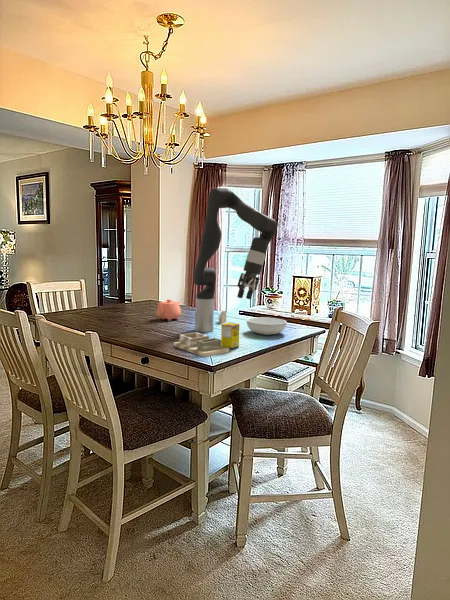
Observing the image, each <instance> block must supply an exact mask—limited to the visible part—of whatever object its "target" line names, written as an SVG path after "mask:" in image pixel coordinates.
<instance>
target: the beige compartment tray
mask: <svg viewBox="0 0 450 600" xmlns="http://www.w3.org/2000/svg"><path fill="white" fill-rule="evenodd" d="M178 337H179V340H178V341H173V346H174V347H176V348H178V349H180V350H181V349H182V350H184V351H187V352H190V353H192V354H194V355H197V356H199V357H203V358H205V357H210V356H214V355H219V354H224V353H229V352H230V349H229V348H227V347H224V346H221V339H219V338H216V337H212V338H210V336H209V335H207V334H203V333H202V332H198V331H197V332H196V331H195V332H189V333H183V334H179V336H178Z"/></svg>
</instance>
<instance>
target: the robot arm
mask: <svg viewBox="0 0 450 600" xmlns="http://www.w3.org/2000/svg"><path fill="white" fill-rule="evenodd" d="M226 208H227V209H228V208H229V209H231V210H234V211H235V212H236V215H237V216H238V218H239V219H240V220H241V221H243V222H245V223H247V224H248V225H250V226H251V227H252V228H253V229H254V230H256V231H258V232H260V234H259V236H256V237H255V236H254V238H252V241H251V244H250V247H249V251H248V253H247V256H246V259H245V262H244V266H243V271H244V272H245V273H244V272H241V273H240V275H239V278H238V282H237V287H238V292H237V296H236V297H237V298H239V299H243V297H244V294H245V290H246V288H247V287H248V290H247V293H246V296H245V297H246V299H247V300H252V297H253V294H254V292H255V291H257V290H258V285H259V281H260V277H259V276H260V275H261V274H262V270H263V267H264V264H265V263H264V262H265V258H266V254H267V249H268V248H269V244H270V243H271V241H272V239H273V237H274V236H275V234H276V232H277V230H278V224H277V221H276V220H275V219H274V218H272V217H270V216H268V215H266V214H263V213H262V212H260V211H259V210H257V209H256V208H255V207H253V206H251V205H250V204H248V203H246V202H245V201H244V200H243V199H241V197H239V196H238V195H237V194H236V193H234V191H232V190H231V189H230V188H225V187H215V188H212V189H211V190H210V191H209V194H208V198H207V206H206V215H205V223H204V228H203V232H202V237H201V242H200V248H199V252H198V253H199V254H198V257H197V259H196V260H197V261H196V264H195V267H194V271H193V283H194V284H195V286H205V287H204V288H203V289H201V290H200V291H198V292H196V300H195V307H196V309H195V310H196V311H195V312H194V330H195V332H196V331H197V332H198V333H211V332H213V331H214V318H215V317H214V313H215V311H214V309H215V308H214V307H215V304H214V303H215V293H216V281H217V279H216V278H217V276H216V275H217V274H216V270H215V269H214V267H206V266H207V264H208V262H209V260H210V259H211V258H212V257H213V256H214V255H215V254H216V252H217V251H218V249H219V248H220V244H221V241H222V240H221V239H222V234H223V233H222V230H221V227H220V224H219V222H218V215H219V210H220V209H226ZM258 275H259V276H258Z"/></svg>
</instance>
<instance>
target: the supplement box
mask: <svg viewBox="0 0 450 600" xmlns="http://www.w3.org/2000/svg"><path fill="white" fill-rule="evenodd" d="M220 330H221V331H220V332H221V336H220V337H221V339H220V340H221V346H224V347H227V348H229V350H231V351H232V350H235V349H237V348H239V347H240V323H235V322H229V321H228V322H226V323H223V324H221V329H220Z"/></svg>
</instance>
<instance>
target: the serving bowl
mask: <svg viewBox="0 0 450 600" xmlns="http://www.w3.org/2000/svg"><path fill="white" fill-rule="evenodd" d="M246 325H247V327H248V329H249V330H250V331H252V332H254V333H256V334H258V335H262V334H263V336H264V335H265V336H272V334H273V335H277V334H279V333H281V332H283V331H284V330H285V328H286V327H287V320H285V319H282V318H275V317H267V316H263V317H262V316H260V317H258V316H257V317H256V316H255V317H249V318H247V319H246Z"/></svg>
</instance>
